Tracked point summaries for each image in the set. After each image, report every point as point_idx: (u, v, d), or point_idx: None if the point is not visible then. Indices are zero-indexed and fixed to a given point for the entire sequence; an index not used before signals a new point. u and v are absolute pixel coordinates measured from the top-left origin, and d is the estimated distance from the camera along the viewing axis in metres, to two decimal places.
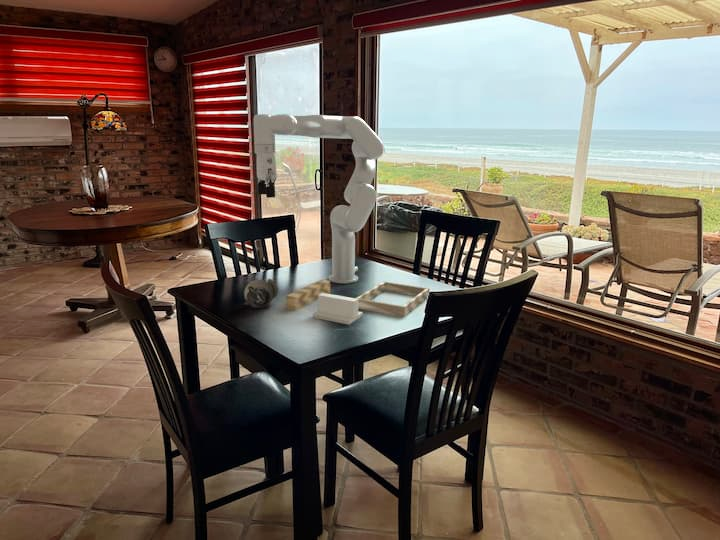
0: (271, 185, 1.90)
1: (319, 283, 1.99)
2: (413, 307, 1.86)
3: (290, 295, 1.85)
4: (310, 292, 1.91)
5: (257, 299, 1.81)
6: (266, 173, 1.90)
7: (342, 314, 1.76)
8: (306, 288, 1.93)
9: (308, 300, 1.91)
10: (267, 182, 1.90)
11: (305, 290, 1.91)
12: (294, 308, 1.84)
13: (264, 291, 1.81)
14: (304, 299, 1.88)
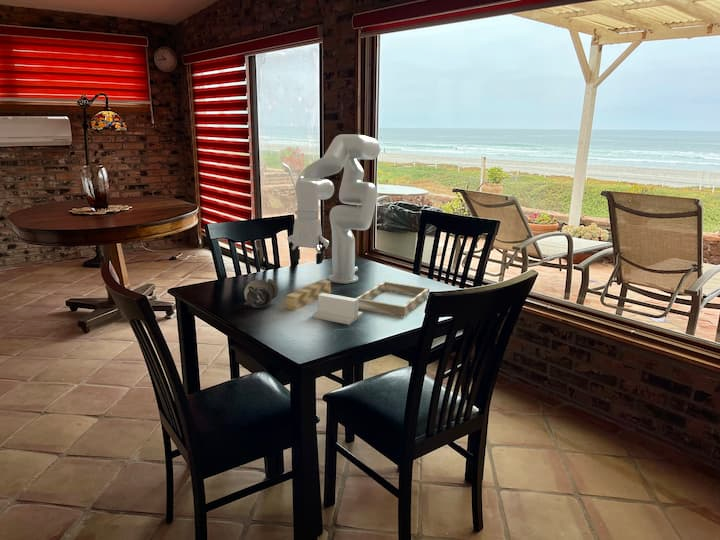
0: None
1: (319, 283, 1.99)
2: (413, 307, 1.86)
3: (290, 295, 1.85)
4: (310, 292, 1.91)
5: (257, 299, 1.81)
6: None
7: (342, 314, 1.76)
8: (306, 288, 1.93)
9: (308, 300, 1.91)
10: None
11: (305, 290, 1.91)
12: (293, 308, 1.84)
13: (264, 291, 1.81)
14: (304, 299, 1.88)
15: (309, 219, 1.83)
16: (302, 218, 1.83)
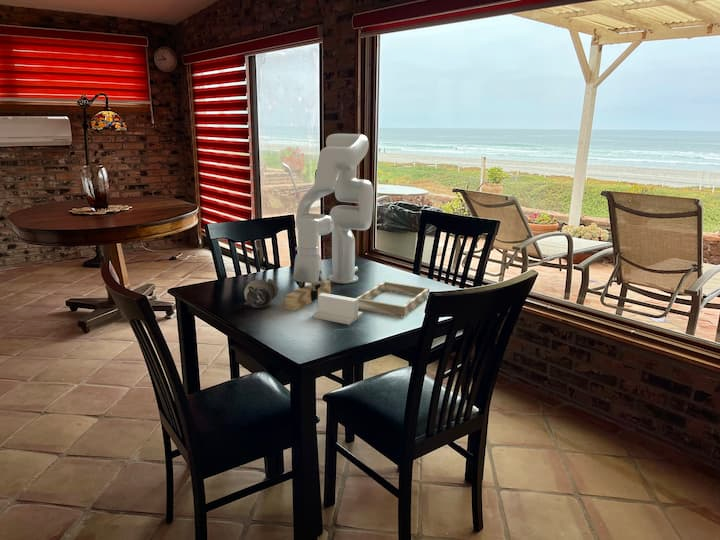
0: None
1: None
2: (413, 307, 1.86)
3: (289, 294, 1.85)
4: (310, 292, 1.91)
5: (257, 299, 1.81)
6: None
7: (342, 314, 1.76)
8: (306, 287, 1.93)
9: (308, 300, 1.91)
10: (302, 282, 1.96)
11: (304, 289, 1.91)
12: (293, 307, 1.84)
13: (264, 291, 1.81)
14: (303, 298, 1.88)
15: (310, 256, 1.87)
16: (303, 255, 1.87)
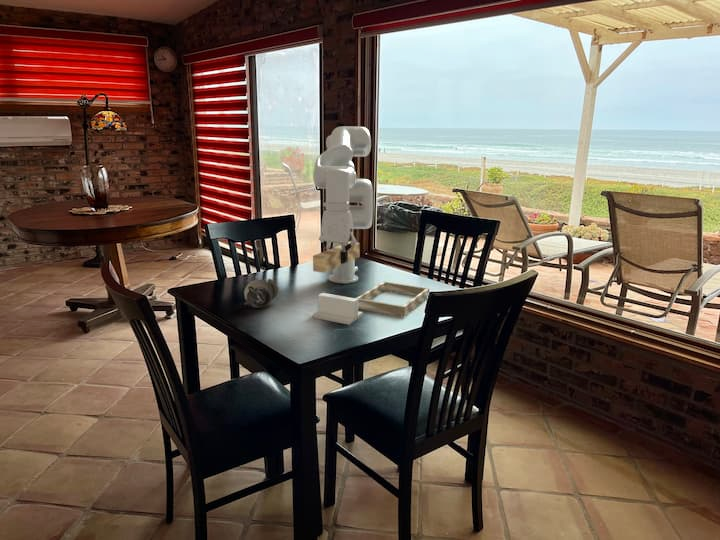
0: None
1: None
2: (413, 307, 1.86)
3: (318, 255, 1.64)
4: (339, 253, 1.70)
5: (257, 299, 1.81)
6: None
7: (342, 314, 1.76)
8: (334, 249, 1.72)
9: (337, 262, 1.70)
10: None
11: (333, 250, 1.70)
12: (323, 269, 1.63)
13: (264, 291, 1.81)
14: (333, 260, 1.67)
15: (340, 211, 1.66)
16: (332, 210, 1.66)
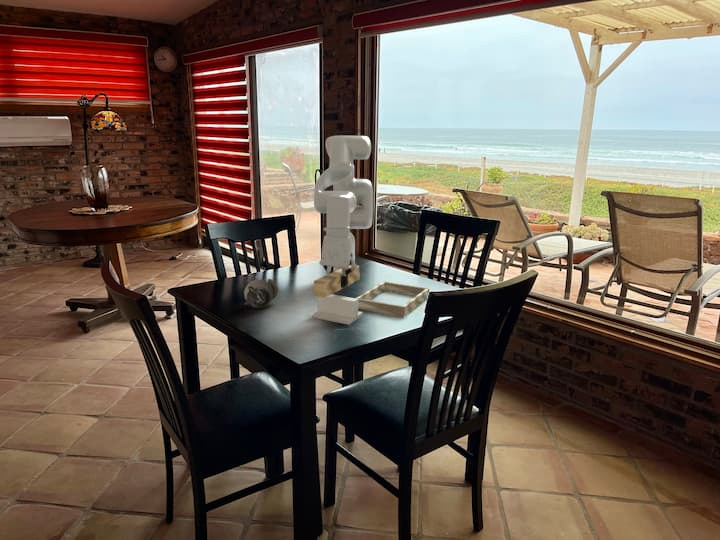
0: None
1: None
2: (413, 307, 1.86)
3: (318, 280, 1.66)
4: (340, 277, 1.72)
5: (257, 299, 1.81)
6: None
7: (342, 314, 1.76)
8: (335, 273, 1.74)
9: (338, 286, 1.71)
10: (330, 268, 1.77)
11: (334, 275, 1.72)
12: (323, 294, 1.64)
13: (264, 291, 1.81)
14: (333, 284, 1.69)
15: (340, 237, 1.68)
16: (332, 236, 1.68)
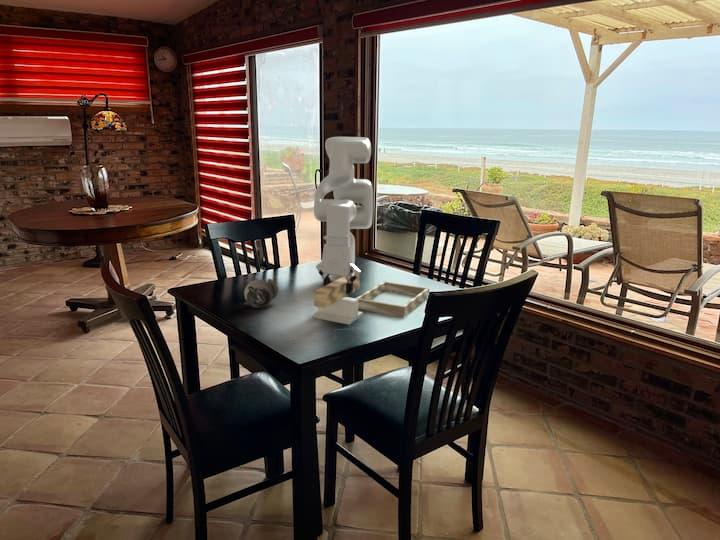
0: None
1: None
2: (413, 307, 1.86)
3: (319, 290, 1.67)
4: (340, 287, 1.73)
5: (257, 299, 1.81)
6: None
7: (342, 314, 1.76)
8: (335, 283, 1.75)
9: (338, 296, 1.73)
10: None
11: (334, 284, 1.73)
12: (323, 305, 1.65)
13: (264, 291, 1.81)
14: (334, 294, 1.70)
15: (340, 246, 1.68)
16: (332, 245, 1.68)
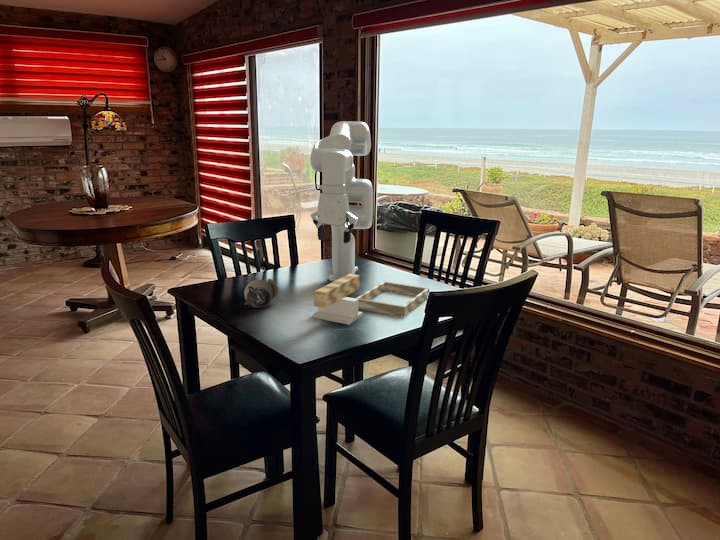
0: None
1: (348, 277, 1.81)
2: (413, 307, 1.86)
3: (319, 290, 1.67)
4: (340, 287, 1.73)
5: (257, 299, 1.81)
6: None
7: (342, 314, 1.76)
8: (335, 283, 1.75)
9: (338, 296, 1.73)
10: None
11: (334, 284, 1.73)
12: (323, 304, 1.65)
13: (264, 291, 1.81)
14: (334, 294, 1.70)
15: (336, 194, 1.67)
16: (328, 193, 1.67)
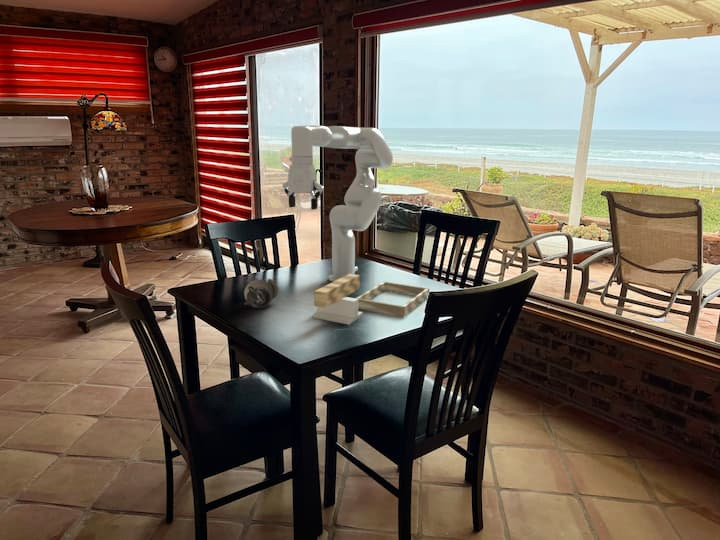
0: None
1: (348, 277, 1.81)
2: (413, 307, 1.86)
3: (319, 290, 1.67)
4: (340, 287, 1.73)
5: (257, 299, 1.81)
6: None
7: (342, 314, 1.76)
8: (335, 283, 1.75)
9: (338, 296, 1.73)
10: (292, 191, 1.96)
11: (334, 284, 1.73)
12: (323, 304, 1.65)
13: (264, 291, 1.81)
14: (334, 294, 1.70)
15: (303, 164, 1.86)
16: (297, 163, 1.86)
